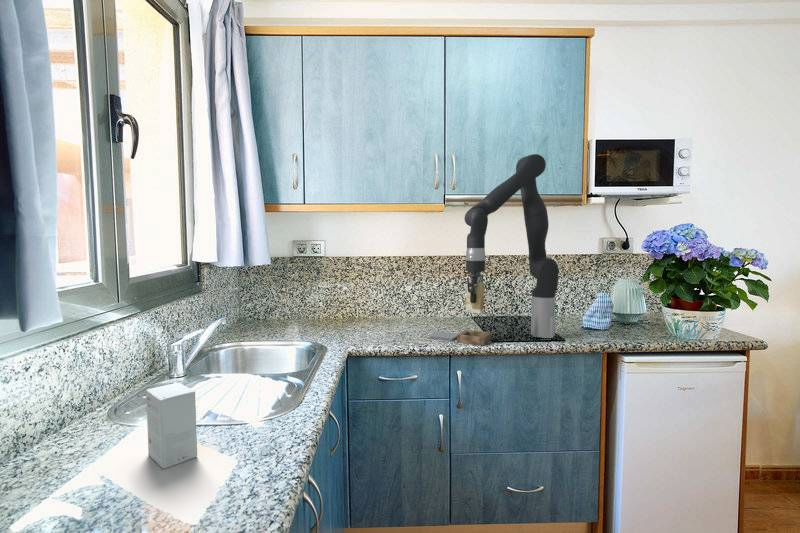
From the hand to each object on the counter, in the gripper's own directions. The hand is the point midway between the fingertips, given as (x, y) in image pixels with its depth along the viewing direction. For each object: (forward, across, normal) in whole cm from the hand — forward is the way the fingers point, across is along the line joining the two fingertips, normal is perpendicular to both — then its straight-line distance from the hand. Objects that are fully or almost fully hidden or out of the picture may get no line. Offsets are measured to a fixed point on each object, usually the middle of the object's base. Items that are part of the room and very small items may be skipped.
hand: (475, 301), depth 174 cm
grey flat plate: (+16, +1, +13) cm, 21 cm away
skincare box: (+4, 0, 0) cm, 4 cm away
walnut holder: (+16, 0, 0) cm, 16 cm away
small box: (+16, -115, +23) cm, 118 cm away
